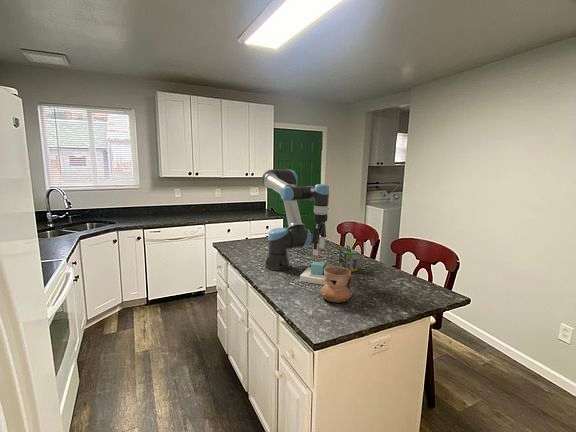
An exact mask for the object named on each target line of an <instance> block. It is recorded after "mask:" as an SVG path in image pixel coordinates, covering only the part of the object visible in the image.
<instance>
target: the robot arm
mask: <svg viewBox="0 0 576 432" xmlns="http://www.w3.org/2000/svg"><path fill="white" fill-rule="evenodd" d="M298 180H299V179H298V175H297V173H296V171H295V170H292V169H288V168H287V169H275V168H274V169H268V170H267V171H265V172H264V173H263V174H262V176H261V183H262V184H263V186H265V187H266V188H268V189H272V190H273V191H275V192H276V193H278V194H279V195H280V199H281V200H282V201H283V205H284V210H285V213H286V219H287V225H288V226H287V228H286V227H276V228H272V229H270V230H269V232H268V238H267V240H268V241H267V245H268V249H267V257H266V259H265V262H264V267H265V269H267V270H270V271H279V272H280V271H286V270H289V268H290V267H291V264H290V259H289V256H288V250H295V249H305V248H307V247H308V246H310V243H311V244H312V255H313V256H319V249H321V250H322V249H323V250H324V249H325V243H326V241H325V239H326V238H327V229H326V228H327V227H326V222H328V215H329V214H328V211H329V210H330V207H329V199H330V186H329V185H328V184H323V183H322V184H321V183H319V184H318V183H317V184H315V185H314V186H313V185H306V186H298V184H299V183H298V182H299V181H298ZM298 201H313V216H312V217H313V221H314V222H316V223H315V224H314V230H313V234H312V233H311V230H310V229H309V228H306V225H305V224H304V223H303V222H302V217H301V214H300V209H299V208H300V207H299V204H298ZM311 234H312V235H311Z"/></svg>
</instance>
